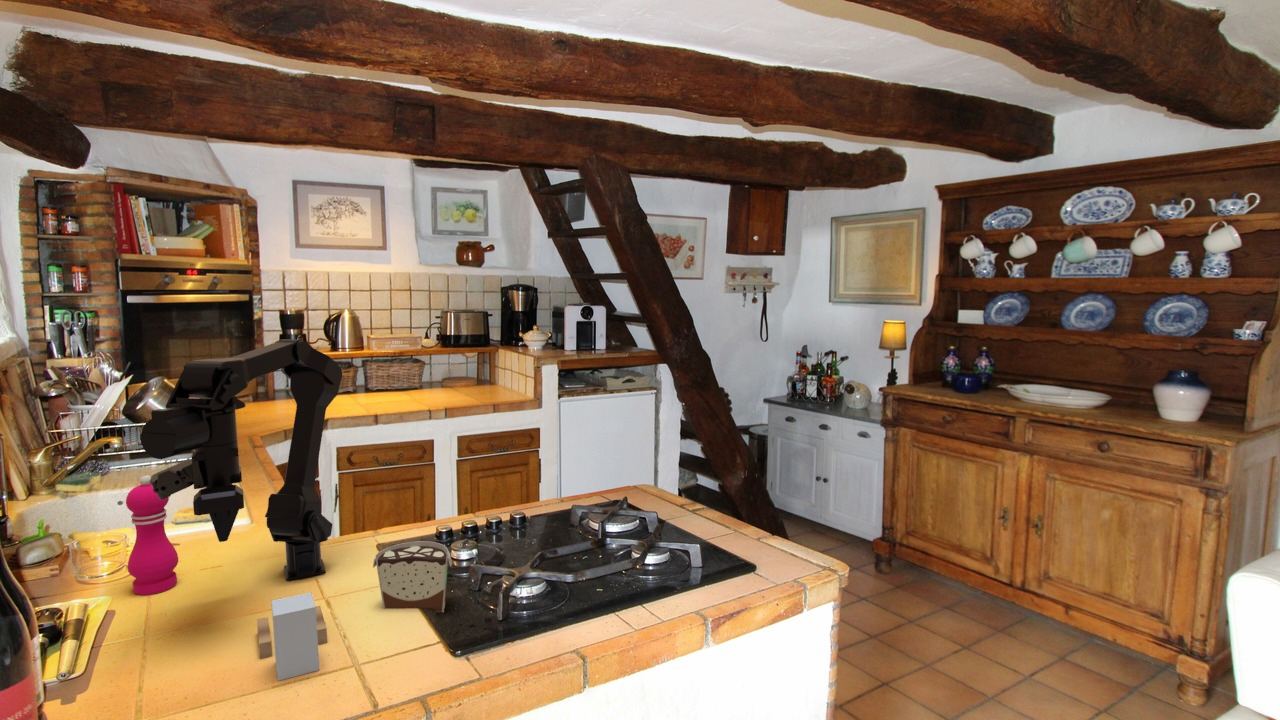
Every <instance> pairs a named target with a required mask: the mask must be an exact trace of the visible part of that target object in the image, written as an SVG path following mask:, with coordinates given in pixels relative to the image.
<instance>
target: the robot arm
mask: <svg viewBox="0 0 1280 720" xmlns="http://www.w3.org/2000/svg"><path fill="white" fill-rule="evenodd" d="M279 370H281V373H282V374H283V375H285V377H287V378H288V379H289V381H290V382H289V390H290V394H292V398H293V399H294V401H295V403H296V408H295V415H294V420H293V427H292V428H293V429H292V433H291V439H290V440H291V441H290V446H289V453H288V458H287V464H286V465H287V466H286V470H285V471H286V472H285V476H284V477H285V478H284V483H283V485H282V487H280V489H279V490H278V492H277V493H270V495H269V497H268V501H267V510H266V513H265V515H264V518H266V527H267V529H268V531H269V532H270V533H269V534H270V535H271V538H272V540H273V543H274V542H276V543H277V542H280V543H281V542H282V543H284V545H285V556H286V557H285V558H286V560H285V561H286V564H285V565H284V566H283V572H284V576H285V581H293V580H298V579H303V578H308V577H312V576H318V575H323V574H326V572H327V570H326V567H325V563H324V560H323V558H322V551H321V550H322V549H321V543H324V542H327V541H328V540H329V538H330V537H331V536H332V531H333V523H332V522H331V521H330V520H329V519H328V518H326V516H324V515H323V514H322V500H321V498H320V496H319V493H318V491H317V489H316V486H315V485H316V480H317V479H316V477H317V472H318V465H319V458H320V452H321V444H322V438H323V433H324V432H323V431H324V425H325V419H326V411H327V408H328V407H329V406H330V404H331V403H332V402H333V401H334V399H335V398H336V397H337V396H338V394H339V389H340V386H341V383H342V380H343V370H342V368H341V366H339V364H338V363H337V361H335V360H334V359H333V358H331V357H330V356H329V355H327V354H325V353H323V352H321V351H319V350H317V349H315V347H312V346H311V345H310V344H309V343H308V342H306V341H304V340H302V339H289V338H288V339H278V340H276V341H275V342H273V343H271V344H270V343H269V344H267V345H265V346H261V347H259V348H255V349H253V350H250V351H246V352H244V353H241V354H238V355H235V356H231V357H221V358H205V359H203V358H202V359H195V360H190V361H189V362H187V363H186V364H184V365H183V370H182V372H181V373H180V375H179V377H178V380H177V382H176V384H175V386H174V387H173V390H172V392H171V394H170V396H169V398H168V400H167V402H166V404H165V408H158V409H153V410H151V412H150V414H151V416H150V417H151V419H149V420H148V421H147V422H145V423H144V425H143V427H142V429H141V432H140V434H139V439H140V440H139V441H140V444H141V446H142V449H143V450H144V451H145V453H146V454H147V455H149V456H150V458H151V457H152V458H153V459H157V460H165V459H168V458H172V457H175V456H177V455H181V454H184V453H188V452H190V451H192V455H191V458H189V459H187V460H185V461H182V462H179V463H177V464H174V465H172V466H170V467H168V468H165V469H162V470H160V471H157V472H156V473H154V474H151V476H150V477H151V479H150V483H151V485H152V486H153V491H154V492H155V493H157V495H158V497H159V499H160V500H163V499H166V498H168V497H169V498H170V497H171V496H172V495H174V494H176V493H179V492H181V491H182V490H185V489H187V488H190V487H191V486H193V490H198V492H196V493H195V495H193V501H192V504H193V505H192V506H193V515H194V516H204V515H205V516H206V515H209V517H210V519H211V522H212V525H213V528H214V531H215V535H216V537H217V540H218V542H220V543H223V542H226V541H228V539H229V538H230V535H231V532H232V529H233V526H234V523H235V521H236V520H237V517H238V514H239V511H240V510H242V509H244V508H245V502H244V500H245V499H244V490H243V488H241V487H240V486H238V485H237V484H239V483H242V482H243V478H242V467H241V465H240V457H239V444H238V429H237V427H238V426H237V417H236V414H237V413H236V410H237V411H238V410H240V409H244V408H246V403H245V402H243V401H242V400H240V399H239V398H238V397H236V396H237V395H239V394H241V393H242V392H244V391H245V390H246V389H247V388H248V387H249V384H250V382H252V381H254V380H256V379H258V378H260V377H263V376H266V375H269V374H271V373H274V372H277V371H279Z"/></svg>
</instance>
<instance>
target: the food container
mask: <svg viewBox="0 0 1280 720" xmlns="http://www.w3.org/2000/svg"><path fill="white" fill-rule="evenodd" d="M372 563H373V565H372V568H373V569H374V568H375V567H376V569H377V575H378V577H377V578H378V582H379V589H380V595H381V601H382V606H383V607H382V608H383V610H386V609H387V610H389V609H391V610H392V609H393V610H394V609H397V610H398V609H399V610H400V609H431V610H432V611H434V612H443V613H444V614H445V611H444V609H445V608H446V596H447V595H446V593H447V578H448V566H449V567H452V565H453V561H452V555H451V553H450V551H449V550H448V548H447V546H445V545H444V544H442V543H439V542H435V541H426V540H425V541H424V540H423V541H421V540H419V541H410V542H403V543H398V544H395V545H391V546H388V547H386V548H384V549H382V550H380V551H379V552H377V553H376V554H375V557H374V559H373V562H372ZM434 612H433V613H434Z"/></svg>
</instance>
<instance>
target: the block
mask: <svg viewBox="0 0 1280 720" xmlns="http://www.w3.org/2000/svg"><path fill="white" fill-rule="evenodd" d="M270 602H271V615H272V626H273V627H272V628H273V643H274V644H273V645H274V657H275V658H274V659H275V667H276V668H275V669H276V676H277V681H279V682H280V681H283V680H287V679H291V678H294V677H299V676H302V675H307V674H310V673H314V672H317V671H320V658H319V657H320V656H319V655H320V654H319V645H318V637H317V621H316V604H315V599H314V596H313V593H312V592H307V593H302V594H298V595H292V596H287V597H283V598H279V599H273V600H271V601H270Z"/></svg>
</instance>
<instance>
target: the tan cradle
mask: <svg viewBox="0 0 1280 720" xmlns="http://www.w3.org/2000/svg"><path fill="white" fill-rule="evenodd" d="M315 606H316V605H315ZM321 607H322V606H321V605H317V606H316V621H317V637H318V646H320V645H323V644H327V643H328V632H327V625H326V621H325V618H324V614H323V611H322V608H321ZM269 620H270V619H269V617H268V616H266V617H262V618H258V619H256V626H257V639H258V648H259V649H258V650H259V659H260V660H262V659H267V658H270V657H273V648H272V647H273V645H272V636H271V635H272V634H271V629H270V621H269Z"/></svg>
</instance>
